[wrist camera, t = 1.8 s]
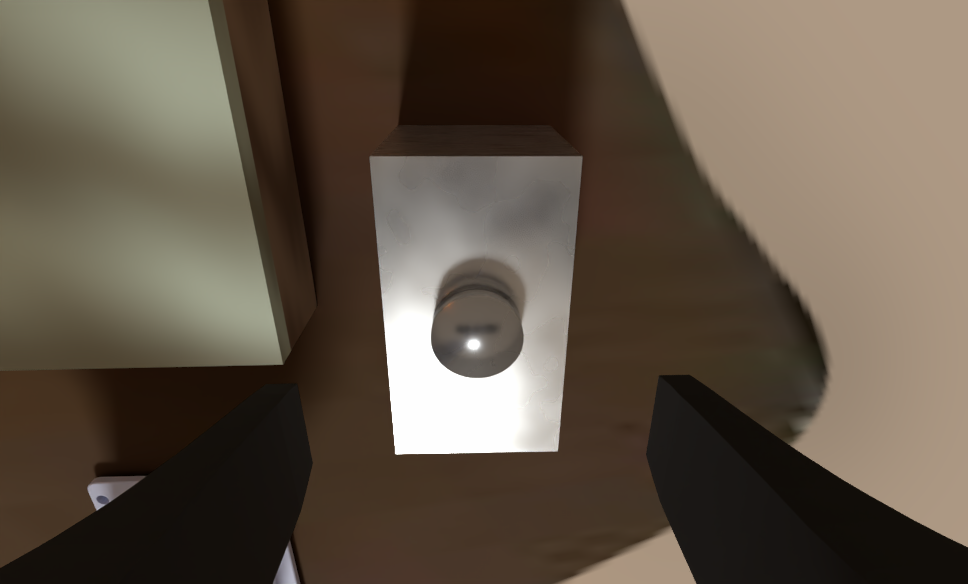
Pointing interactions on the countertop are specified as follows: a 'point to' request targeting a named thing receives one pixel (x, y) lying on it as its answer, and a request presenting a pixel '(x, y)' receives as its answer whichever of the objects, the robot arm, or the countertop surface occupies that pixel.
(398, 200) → the housing
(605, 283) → the countertop surface
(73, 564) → the robot arm
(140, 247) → the stand
